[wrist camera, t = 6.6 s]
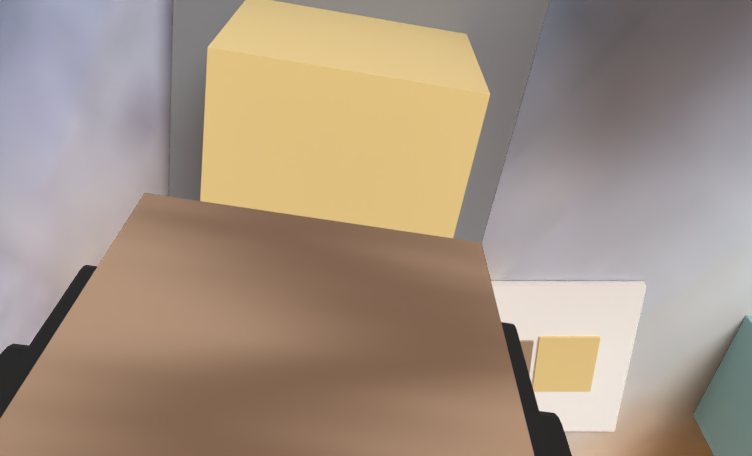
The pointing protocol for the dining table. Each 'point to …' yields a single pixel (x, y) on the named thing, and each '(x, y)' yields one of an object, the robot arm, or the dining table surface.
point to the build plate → (350, 107)
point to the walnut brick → (273, 345)
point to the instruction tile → (575, 344)
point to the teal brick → (730, 399)
